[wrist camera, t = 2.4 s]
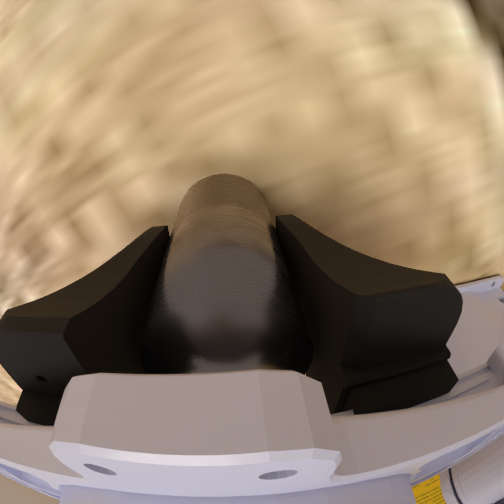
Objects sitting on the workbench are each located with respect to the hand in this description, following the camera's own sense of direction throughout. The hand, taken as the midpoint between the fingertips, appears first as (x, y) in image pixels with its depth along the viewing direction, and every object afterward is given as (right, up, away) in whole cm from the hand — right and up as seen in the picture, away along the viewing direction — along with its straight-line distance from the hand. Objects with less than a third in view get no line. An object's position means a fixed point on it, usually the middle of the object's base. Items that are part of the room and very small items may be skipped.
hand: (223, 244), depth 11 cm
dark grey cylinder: (0, +1, +2) cm, 2 cm away
